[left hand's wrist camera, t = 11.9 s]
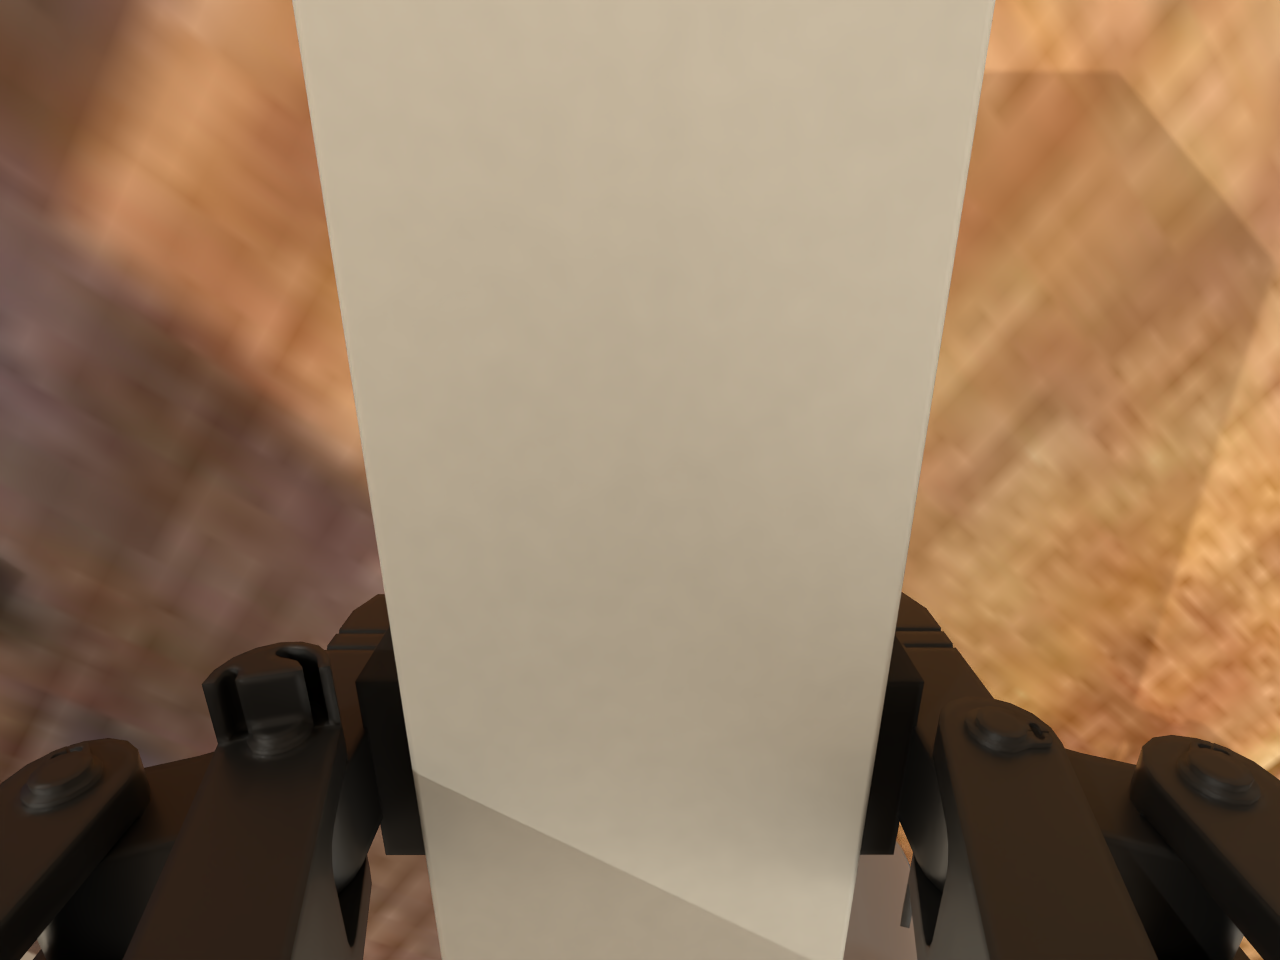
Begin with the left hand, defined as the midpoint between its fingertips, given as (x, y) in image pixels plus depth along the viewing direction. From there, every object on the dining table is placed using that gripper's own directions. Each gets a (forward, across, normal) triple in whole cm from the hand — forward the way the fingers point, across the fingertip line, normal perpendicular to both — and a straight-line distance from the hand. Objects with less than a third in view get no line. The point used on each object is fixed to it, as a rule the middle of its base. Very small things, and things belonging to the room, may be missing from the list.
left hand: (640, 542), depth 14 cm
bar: (+1, 0, -10) cm, 10 cm away
